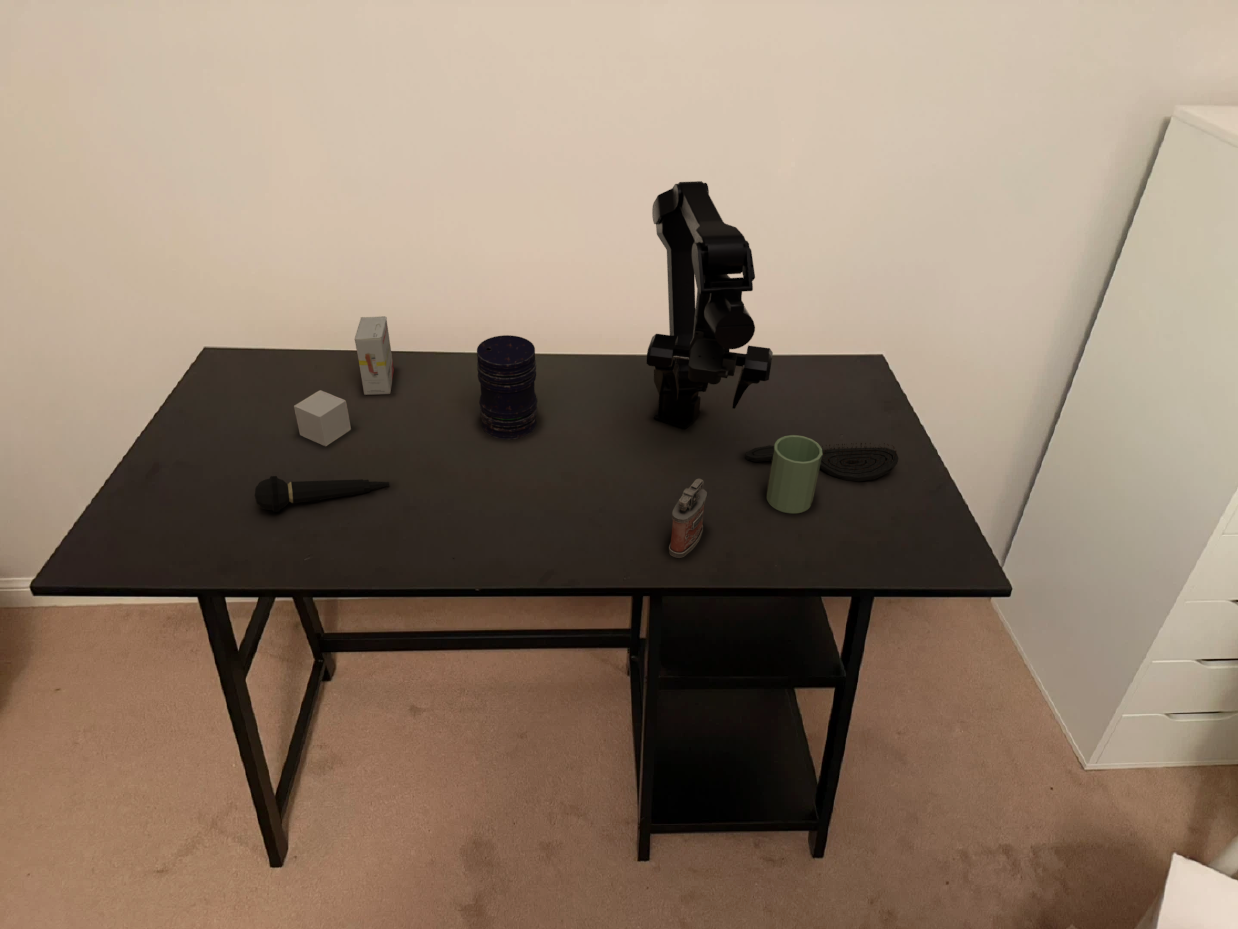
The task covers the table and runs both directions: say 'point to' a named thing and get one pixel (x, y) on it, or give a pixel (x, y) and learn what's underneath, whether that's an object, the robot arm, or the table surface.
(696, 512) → the lighter
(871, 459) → the hairbrush
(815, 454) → the pen cup
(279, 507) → the microphone
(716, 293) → the robot arm
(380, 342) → the ink box
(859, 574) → the table surface
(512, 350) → the storage jar
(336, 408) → the light grey cube
